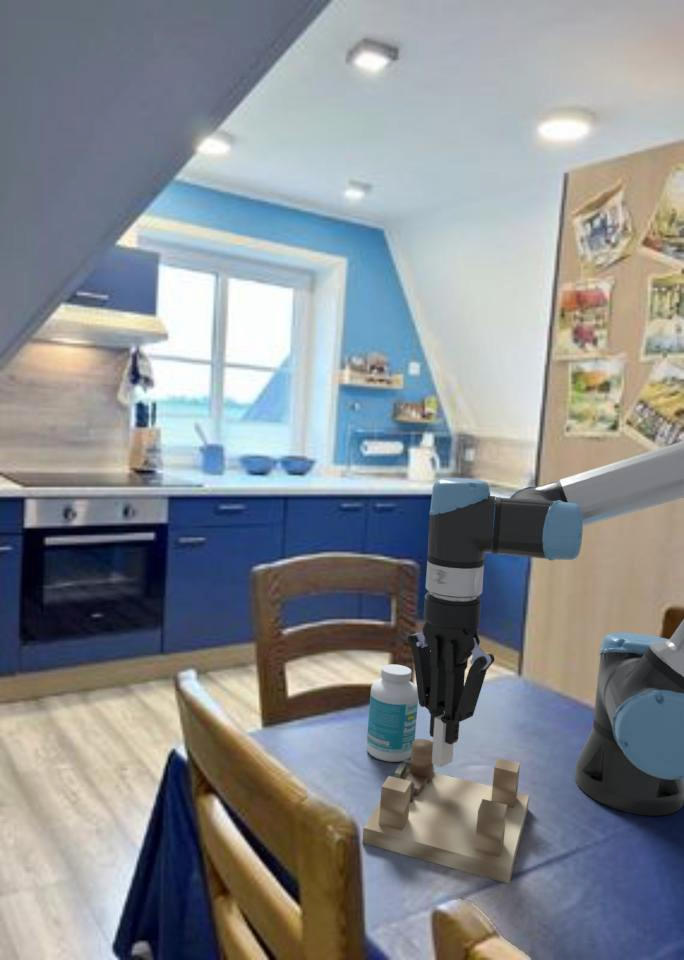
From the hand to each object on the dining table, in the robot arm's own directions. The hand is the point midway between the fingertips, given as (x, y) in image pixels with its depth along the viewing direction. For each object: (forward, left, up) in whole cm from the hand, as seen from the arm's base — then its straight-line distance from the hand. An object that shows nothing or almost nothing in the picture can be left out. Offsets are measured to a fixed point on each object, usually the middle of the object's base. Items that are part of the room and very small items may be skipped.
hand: (442, 762), depth 104 cm
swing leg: (+3, 0, -4) cm, 5 cm away
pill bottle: (+10, -11, -6) cm, 17 cm away
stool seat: (-3, +5, -6) cm, 8 cm away
